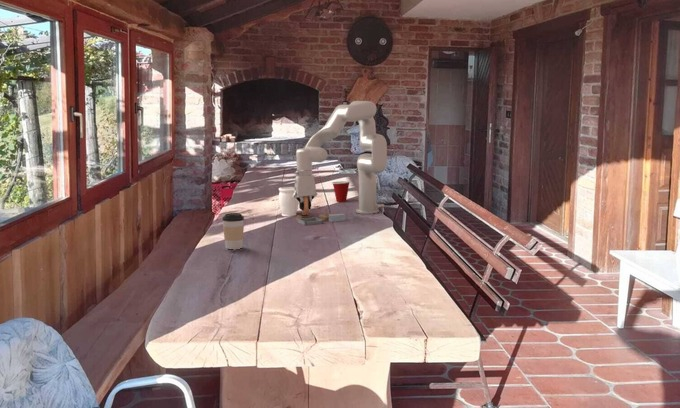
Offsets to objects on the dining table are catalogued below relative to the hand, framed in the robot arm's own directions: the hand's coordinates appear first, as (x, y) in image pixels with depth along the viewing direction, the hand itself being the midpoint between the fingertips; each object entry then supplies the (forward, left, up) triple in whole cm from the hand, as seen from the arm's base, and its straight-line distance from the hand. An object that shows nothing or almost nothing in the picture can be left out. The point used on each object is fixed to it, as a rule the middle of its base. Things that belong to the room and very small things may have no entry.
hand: (305, 209), depth 341 cm
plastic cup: (-43, -43, -6) cm, 61 cm away
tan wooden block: (-11, +4, -7) cm, 14 cm away
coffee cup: (+50, +39, -6) cm, 64 cm away
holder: (0, 0, -6) cm, 6 cm away
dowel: (0, 0, -3) cm, 3 cm away
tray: (+1, +9, -6) cm, 11 cm away
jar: (+2, -15, -6) cm, 17 cm away
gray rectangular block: (-13, +11, -6) cm, 18 cm away
